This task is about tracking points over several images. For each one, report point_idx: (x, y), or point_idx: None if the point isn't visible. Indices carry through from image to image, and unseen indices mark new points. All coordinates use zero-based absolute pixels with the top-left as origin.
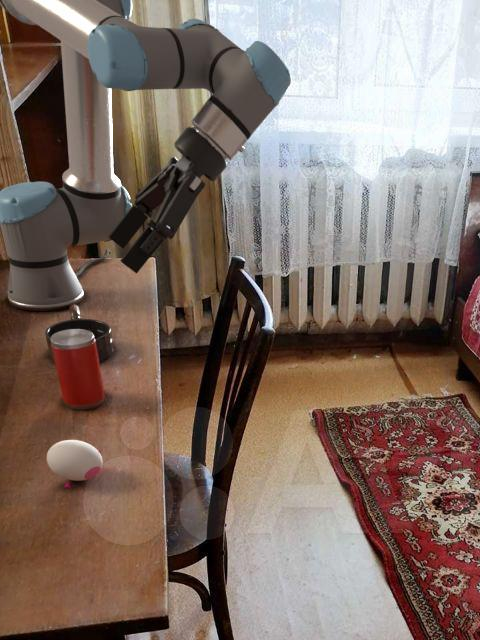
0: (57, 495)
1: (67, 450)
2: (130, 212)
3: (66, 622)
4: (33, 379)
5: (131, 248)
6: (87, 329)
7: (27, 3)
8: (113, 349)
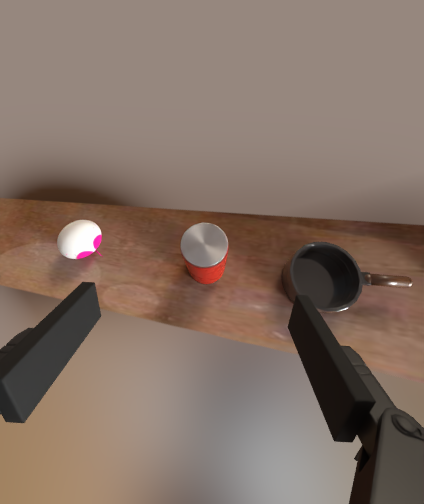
0: None
1: (64, 229)
2: (337, 373)
3: None
4: (262, 232)
5: (57, 306)
6: (351, 289)
7: None
8: None
